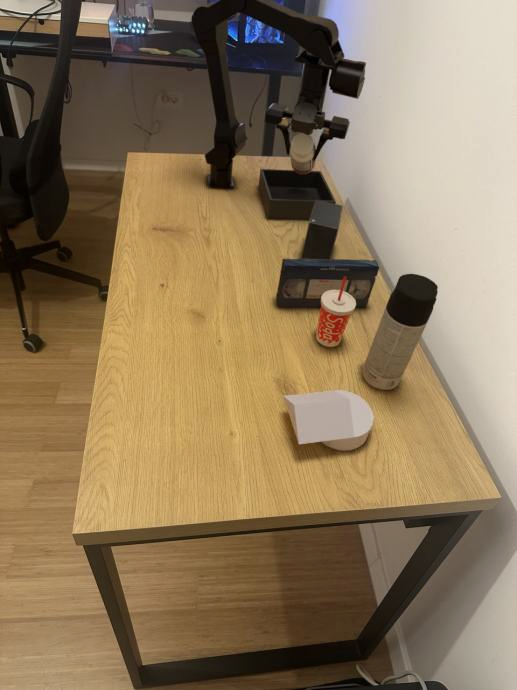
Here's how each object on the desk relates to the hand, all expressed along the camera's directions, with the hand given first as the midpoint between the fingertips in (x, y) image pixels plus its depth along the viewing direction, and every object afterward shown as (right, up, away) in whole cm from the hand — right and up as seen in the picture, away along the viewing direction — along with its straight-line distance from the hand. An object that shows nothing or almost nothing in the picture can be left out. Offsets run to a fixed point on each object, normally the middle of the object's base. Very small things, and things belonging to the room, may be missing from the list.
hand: (301, 157), depth 120 cm
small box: (+3, -25, -7) cm, 26 cm away
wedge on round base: (+1, -58, -42) cm, 72 cm away
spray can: (+11, -51, -33) cm, 61 cm away
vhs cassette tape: (+2, -37, -20) cm, 42 cm away
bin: (-1, -9, +8) cm, 12 cm away
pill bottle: (+1, +1, +7) cm, 7 cm away
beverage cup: (+3, -44, -27) cm, 52 cm away
